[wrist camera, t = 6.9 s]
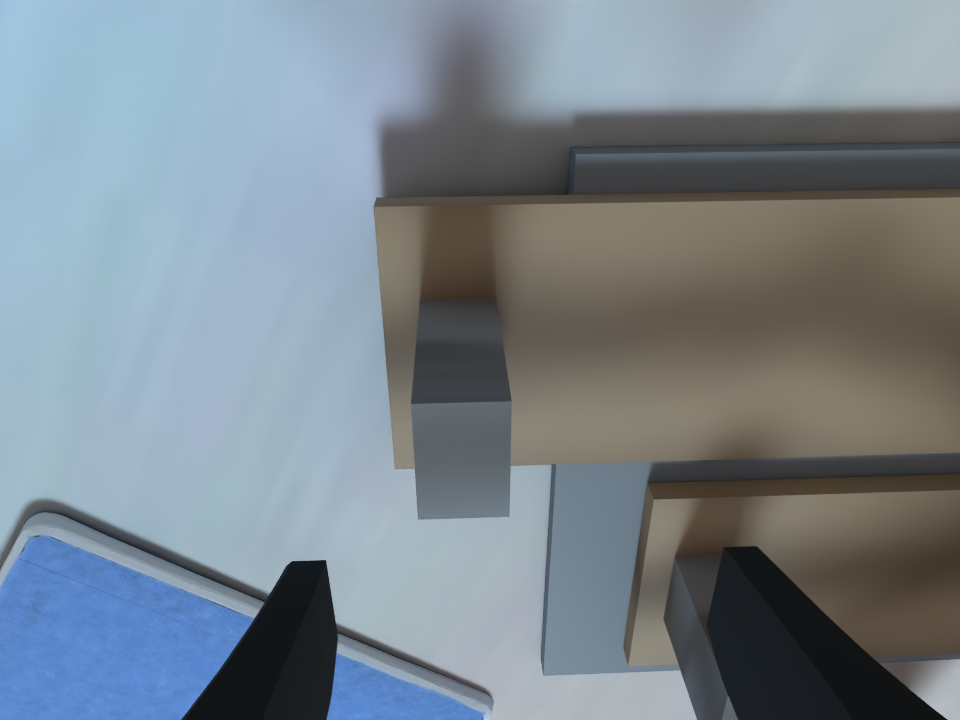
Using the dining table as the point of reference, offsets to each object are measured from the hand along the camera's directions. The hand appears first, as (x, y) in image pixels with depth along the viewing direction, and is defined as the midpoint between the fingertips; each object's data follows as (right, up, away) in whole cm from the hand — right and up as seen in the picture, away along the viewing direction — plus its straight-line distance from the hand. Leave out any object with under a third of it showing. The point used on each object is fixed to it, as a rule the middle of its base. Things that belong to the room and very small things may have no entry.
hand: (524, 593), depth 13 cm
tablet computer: (-11, -9, +16) cm, 22 cm away
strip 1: (+11, +6, +8) cm, 14 cm away
